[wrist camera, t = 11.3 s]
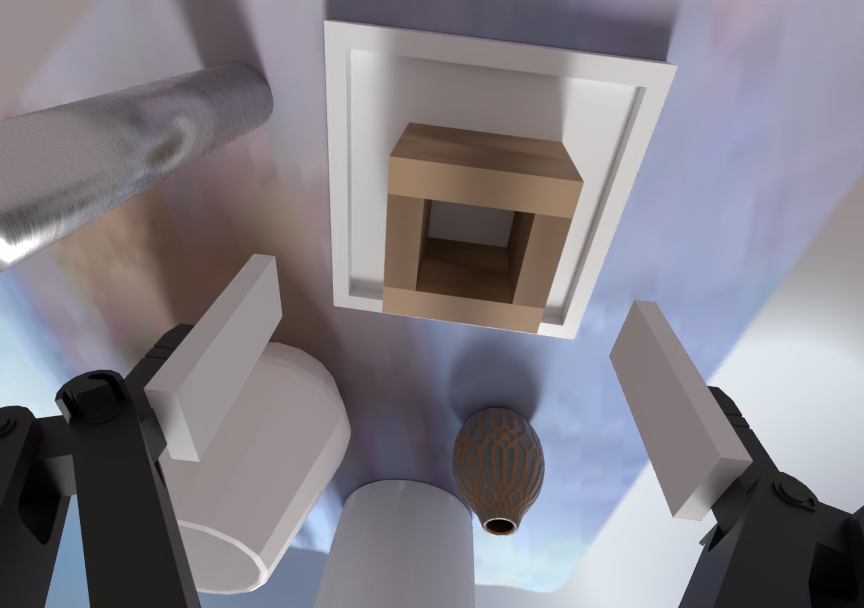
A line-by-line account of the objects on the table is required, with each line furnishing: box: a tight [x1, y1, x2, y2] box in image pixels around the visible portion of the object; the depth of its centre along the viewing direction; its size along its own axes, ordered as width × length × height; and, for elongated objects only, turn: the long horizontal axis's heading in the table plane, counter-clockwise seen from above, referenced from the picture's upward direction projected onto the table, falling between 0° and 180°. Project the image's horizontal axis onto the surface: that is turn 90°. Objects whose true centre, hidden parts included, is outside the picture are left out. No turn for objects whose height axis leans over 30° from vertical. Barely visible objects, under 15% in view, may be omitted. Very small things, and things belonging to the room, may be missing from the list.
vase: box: [453, 408, 545, 536], centre depth 33 cm, size 7×7×9 cm
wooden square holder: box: [382, 122, 584, 334], centre depth 23 cm, size 8×8×6 cm
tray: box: [324, 19, 678, 340], centre depth 25 cm, size 16×16×2 cm
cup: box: [158, 342, 351, 594], centre depth 30 cm, size 13×13×14 cm
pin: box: [0, 62, 273, 273], centre depth 17 cm, size 3×3×16 cm
